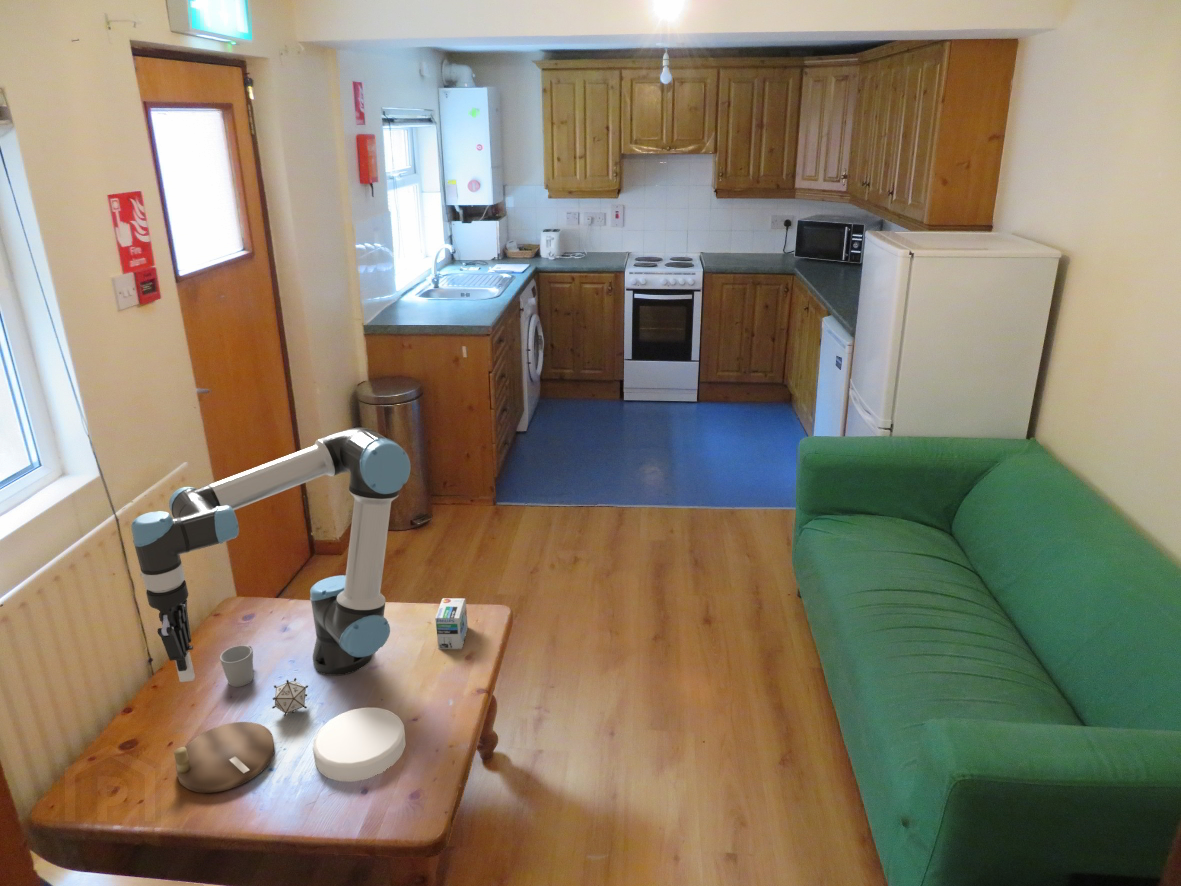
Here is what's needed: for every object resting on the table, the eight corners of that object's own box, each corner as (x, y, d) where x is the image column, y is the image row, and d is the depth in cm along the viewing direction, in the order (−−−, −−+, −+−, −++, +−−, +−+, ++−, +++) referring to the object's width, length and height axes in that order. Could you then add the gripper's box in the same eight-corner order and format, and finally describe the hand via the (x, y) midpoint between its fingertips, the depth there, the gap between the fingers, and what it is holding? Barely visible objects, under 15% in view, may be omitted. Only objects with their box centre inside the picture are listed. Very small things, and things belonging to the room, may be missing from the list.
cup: (219, 690, 206) (213, 661, 203) (240, 666, 216) (235, 638, 213) (247, 692, 205) (241, 663, 202) (267, 668, 215) (262, 640, 212)
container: (310, 735, 190) (308, 719, 189) (397, 712, 198) (395, 696, 196) (319, 794, 173) (317, 776, 171) (414, 766, 180) (412, 749, 179)
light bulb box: (462, 653, 220) (459, 618, 216) (437, 653, 220) (434, 618, 216) (468, 630, 230) (466, 597, 226) (444, 630, 230) (441, 597, 226)
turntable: (247, 717, 195) (242, 693, 193) (291, 755, 183) (287, 729, 180) (161, 763, 181) (155, 737, 179) (203, 807, 169) (197, 780, 166)
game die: (319, 707, 199) (314, 672, 196) (297, 729, 192) (291, 693, 188) (289, 699, 202) (283, 665, 199) (265, 721, 195) (259, 686, 191)
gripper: (155, 571, 175) (177, 663, 183) (135, 602, 163) (160, 700, 171) (192, 567, 176) (213, 659, 185) (175, 598, 164) (198, 695, 173)
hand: (187, 679), depth 178 cm, fingers closed
